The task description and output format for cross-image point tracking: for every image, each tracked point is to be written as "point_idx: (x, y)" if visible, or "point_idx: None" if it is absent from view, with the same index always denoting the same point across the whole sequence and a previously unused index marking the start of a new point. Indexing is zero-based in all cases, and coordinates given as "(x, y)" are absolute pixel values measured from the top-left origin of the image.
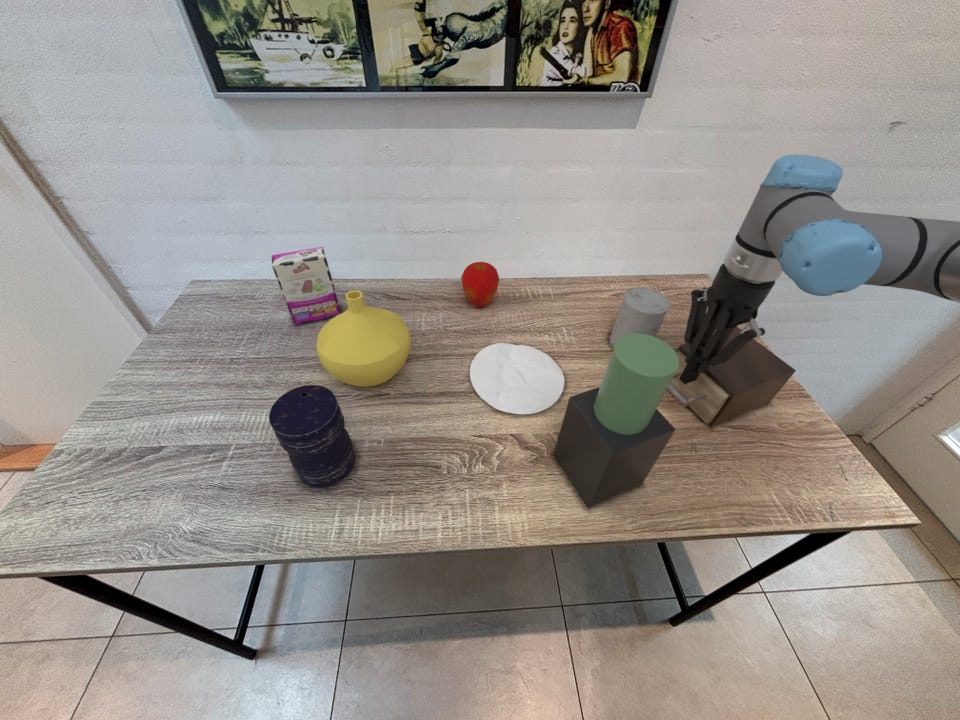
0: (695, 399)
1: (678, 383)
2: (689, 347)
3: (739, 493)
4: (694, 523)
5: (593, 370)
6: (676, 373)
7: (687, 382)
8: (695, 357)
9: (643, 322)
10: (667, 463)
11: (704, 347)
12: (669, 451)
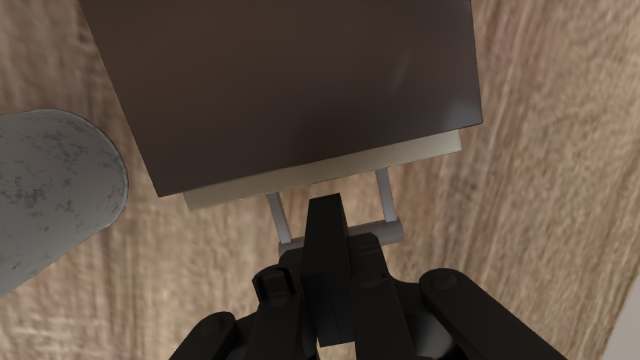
0: (391, 196)
1: None
2: (173, 159)
3: (610, 148)
4: (622, 280)
5: (183, 313)
6: (269, 200)
7: (349, 235)
8: (342, 337)
9: (6, 273)
10: (483, 266)
11: (302, 306)
12: (456, 247)
